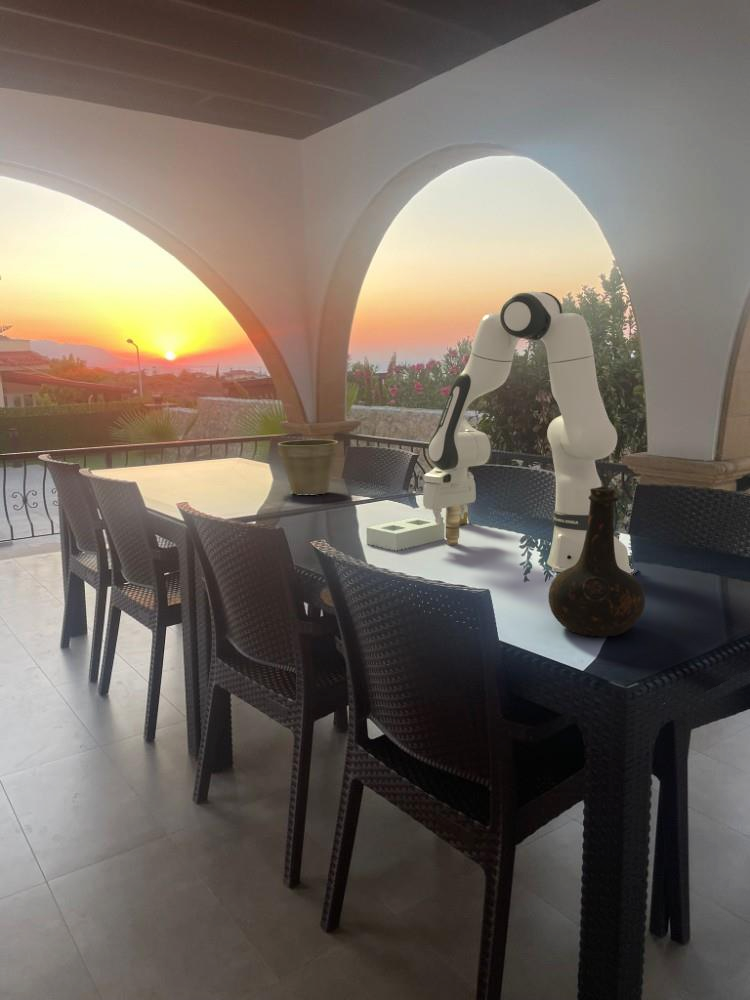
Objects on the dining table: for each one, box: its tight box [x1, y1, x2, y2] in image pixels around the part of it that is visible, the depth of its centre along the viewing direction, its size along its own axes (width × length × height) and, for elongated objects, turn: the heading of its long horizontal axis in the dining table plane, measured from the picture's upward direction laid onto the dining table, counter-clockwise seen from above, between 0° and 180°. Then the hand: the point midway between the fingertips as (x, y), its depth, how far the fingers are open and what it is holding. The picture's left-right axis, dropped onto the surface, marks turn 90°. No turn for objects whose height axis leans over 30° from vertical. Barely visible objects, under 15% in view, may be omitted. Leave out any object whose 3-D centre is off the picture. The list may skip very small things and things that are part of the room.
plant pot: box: [277, 439, 339, 495], centre depth 304 cm, size 25×25×22 cm
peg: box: [445, 504, 460, 546], centre depth 212 cm, size 4×4×12 cm
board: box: [366, 517, 446, 552], centre depth 217 cm, size 12×21×5 cm, turn 134°
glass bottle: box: [547, 486, 646, 638], centre depth 140 cm, size 18×18×28 cm
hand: (449, 521), depth 212 cm, fingers open, 8 cm apart
